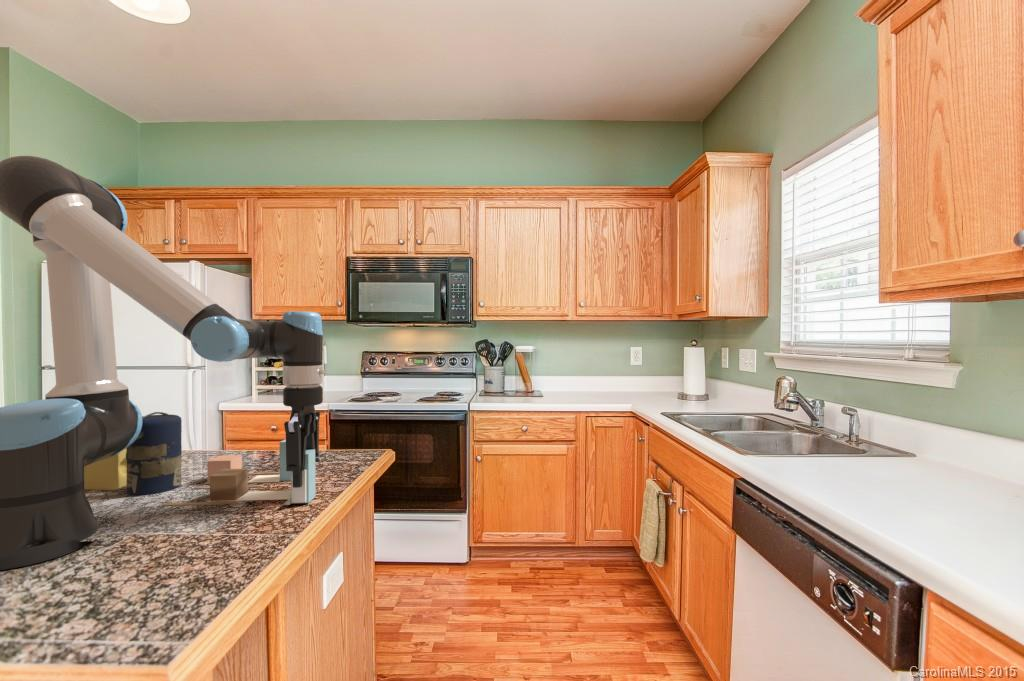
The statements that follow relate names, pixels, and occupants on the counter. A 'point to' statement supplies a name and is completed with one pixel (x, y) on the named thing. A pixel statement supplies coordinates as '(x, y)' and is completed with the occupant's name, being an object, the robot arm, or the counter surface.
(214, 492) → the block walnut
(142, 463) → the canister
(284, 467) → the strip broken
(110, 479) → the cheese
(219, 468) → the block clay
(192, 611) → the counter surface
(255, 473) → the lane frame
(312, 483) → the multicoloured block
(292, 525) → the counter surface
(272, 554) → the counter surface
